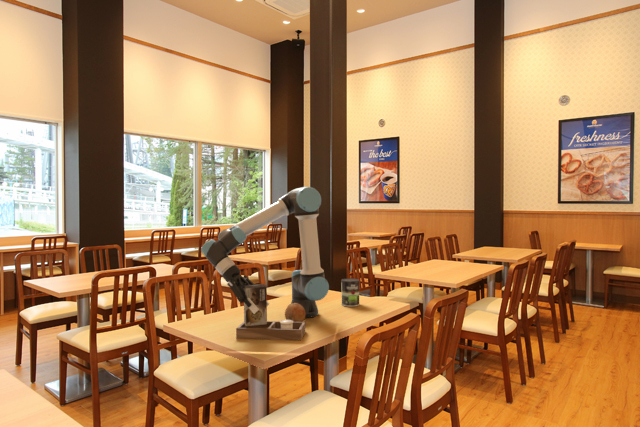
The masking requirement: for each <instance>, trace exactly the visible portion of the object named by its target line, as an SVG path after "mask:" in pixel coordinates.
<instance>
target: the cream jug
mask: <svg viewBox="0 0 640 427" xmlns="http://www.w3.org/2000/svg"><path fill="white" fill-rule="evenodd" d="M280 324H281V329H293V320H286V319H282V320H280Z"/></svg>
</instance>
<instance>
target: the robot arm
mask: <svg viewBox="0 0 640 427" xmlns="http://www.w3.org/2000/svg"><path fill="white" fill-rule="evenodd" d="M321 205H322V195H321V194H320V192H319V190H317V189H316V188H315V187H312V186H302V187H297V188H294V189H292V190H290V191H288V192H287V193H285V194H284V195H283V196H281V197H279V198H278V199H277V202H274V203H273V204H270V205H269V206H267V207H265V208H263V209H261V210H260V211H258V212H256V213H253V214H252V215H250V216H248V217H246V218H245V219H243V220H241V221H239V222H238V223H235V224H234V225H233V226H230V227H228V228H226V229H223V230H221V231H220V232H219V234H218V236H217V238H218V240H215V239H209V240H208V241H206V242H205V243H204V244H202V245H201V249H200V251H201V253H202V254H203V256H204V257H205V258H206V260H207V261H208V262H209V263H210V264H211V265H212V267H214V269H215V270H216V271H217V273H219V275H220V276H222V278H223V279H224V281H226V282H227V283H226V285H227V286H228V287H229V288H230V290H231V291H232V293H233V295H234V296H235V297H236V299H237V301H238V302H239V303H240V304H244V303H245V304H246V305H247V307H248V308H249V309H250V310H251V311H252V312H253V314H255V313H256V312H257V311H258V310H259V309H258V308H257V307H256V305H255V304H254V303H253V302H252V301H251V300H250V298H247V296H246V294H245V292H244V285H256V283H254V281H252V280H251V279H250V278H249V277H248V276H247V275H245V274H244V276H242V275H241V269H240V268H239V266H237V265H236V264H235V262H234V260H232V259H231V257H229V254H230V253H231V252H232V251H234V250H235V249H236V248H238V247H239V246H240V245H241V244H243V243H244V241H246V240H247V238H248V237H247V236H249V235H251V234H253V233H254V232H257V231H258V230H261V229H263V228H265V226H268V225H269V224H271V223H273V222H275V221H277V220H278V219H280V218H282V217H283V216H286V217H287V216H290V215H292V214H294V218H296V219H297V221H298V228H299V239H300V251H301V263H302V264H301V265H302V269H297V270H293V271H292V273H291V301H290V304H292V303H298V304H300V305H301V306H302V307H303V308H304V309H305V319H309V318H313V317H317V316H318V315H319V308H318V305H317V302H316V301H318V302H319V301H321V300H323V299H324V298H325V297H326V296H327V295H328V293H329V290H330V285H329V282H328V280H327V279H326V278H325V276H326V275H325V270H324V269H323V268H322V267H321V259H320V258H321V257H320V245H319V234H318V233H319V232H318V225H317V217H319V215H320V212H319V211H320V210H319V208H320V207H321ZM268 306H270V303H269V301H267V307H268Z"/></svg>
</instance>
